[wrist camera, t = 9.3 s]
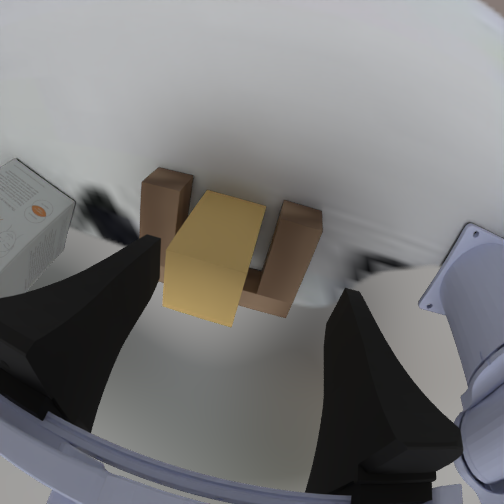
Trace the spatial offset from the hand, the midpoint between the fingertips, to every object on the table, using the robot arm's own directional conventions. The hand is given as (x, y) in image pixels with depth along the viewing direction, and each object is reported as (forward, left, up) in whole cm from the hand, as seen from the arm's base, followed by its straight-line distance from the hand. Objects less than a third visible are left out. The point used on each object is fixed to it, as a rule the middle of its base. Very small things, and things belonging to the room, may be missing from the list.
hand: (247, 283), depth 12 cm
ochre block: (+2, +3, -9) cm, 10 cm away
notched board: (+2, +4, -9) cm, 10 cm away
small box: (+20, +7, -10) cm, 23 cm away
